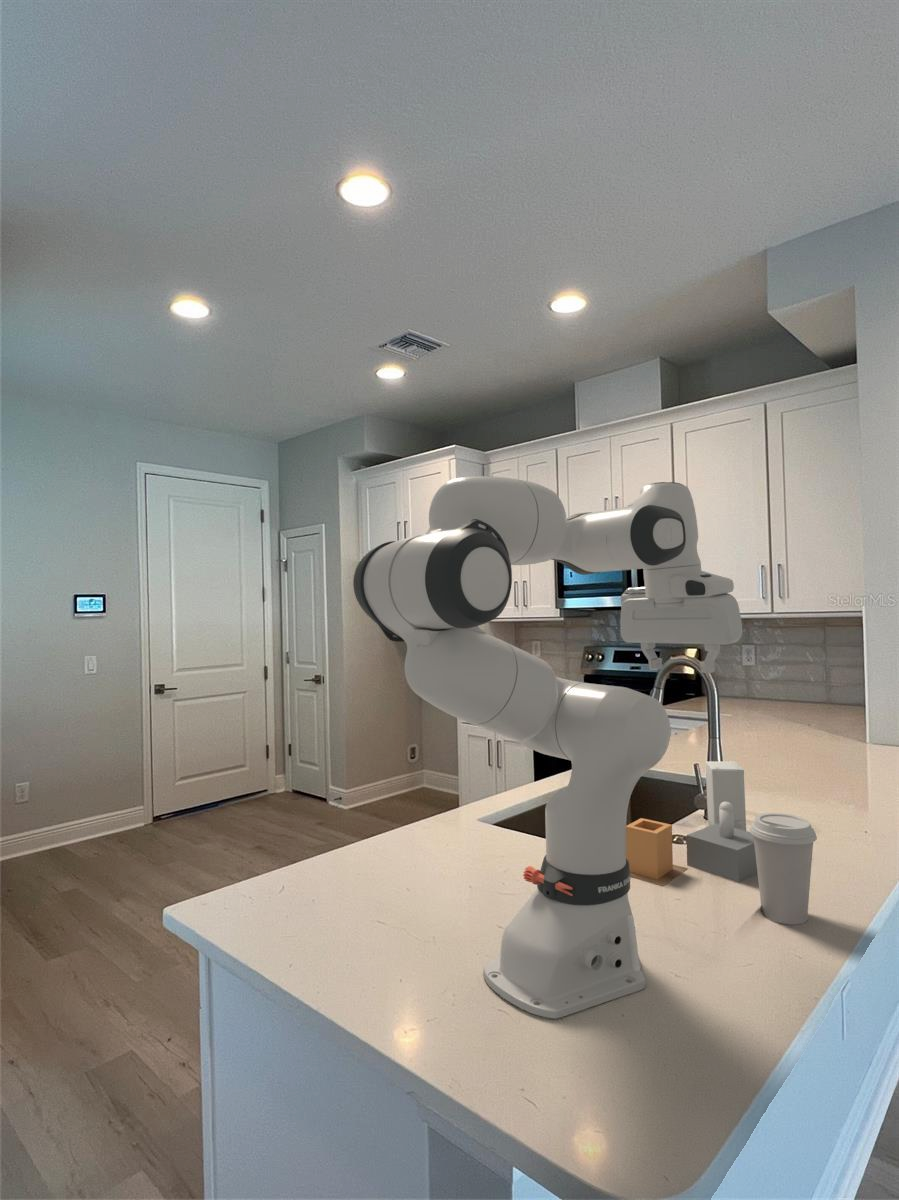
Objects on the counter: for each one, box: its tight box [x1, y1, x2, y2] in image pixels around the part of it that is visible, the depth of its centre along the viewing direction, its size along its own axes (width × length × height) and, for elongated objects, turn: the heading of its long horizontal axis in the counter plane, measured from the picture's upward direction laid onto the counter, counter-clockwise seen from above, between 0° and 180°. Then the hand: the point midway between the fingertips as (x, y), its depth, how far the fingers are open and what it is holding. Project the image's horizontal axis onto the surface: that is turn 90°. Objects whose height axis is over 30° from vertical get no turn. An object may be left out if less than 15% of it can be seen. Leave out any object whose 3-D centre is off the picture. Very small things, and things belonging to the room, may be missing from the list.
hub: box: [686, 802, 758, 883], centre depth 126 cm, size 10×10×13 cm
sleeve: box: [626, 817, 674, 879], centre depth 125 cm, size 6×6×8 cm
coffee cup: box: [749, 812, 818, 926], centre depth 110 cm, size 10×10×15 cm
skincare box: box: [704, 760, 747, 831], centre depth 144 cm, size 8×7×16 cm
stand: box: [630, 864, 689, 887], centre depth 125 cm, size 10×10×9 cm
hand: (681, 670), depth 112 cm, fingers open, 8 cm apart
